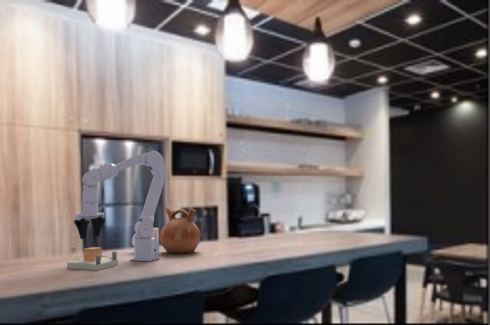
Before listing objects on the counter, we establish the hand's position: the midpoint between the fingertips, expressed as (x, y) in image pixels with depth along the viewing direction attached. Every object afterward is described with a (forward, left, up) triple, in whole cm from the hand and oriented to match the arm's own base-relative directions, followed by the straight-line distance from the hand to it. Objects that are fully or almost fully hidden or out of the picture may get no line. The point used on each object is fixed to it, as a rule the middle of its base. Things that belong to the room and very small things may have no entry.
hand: (89, 237), depth 162 cm
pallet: (+1, -6, -10) cm, 11 cm away
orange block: (-5, +4, -8) cm, 10 cm away
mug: (-3, -34, -10) cm, 35 cm away
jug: (-20, -36, -10) cm, 42 cm away
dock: (-6, +4, -10) cm, 12 cm away
